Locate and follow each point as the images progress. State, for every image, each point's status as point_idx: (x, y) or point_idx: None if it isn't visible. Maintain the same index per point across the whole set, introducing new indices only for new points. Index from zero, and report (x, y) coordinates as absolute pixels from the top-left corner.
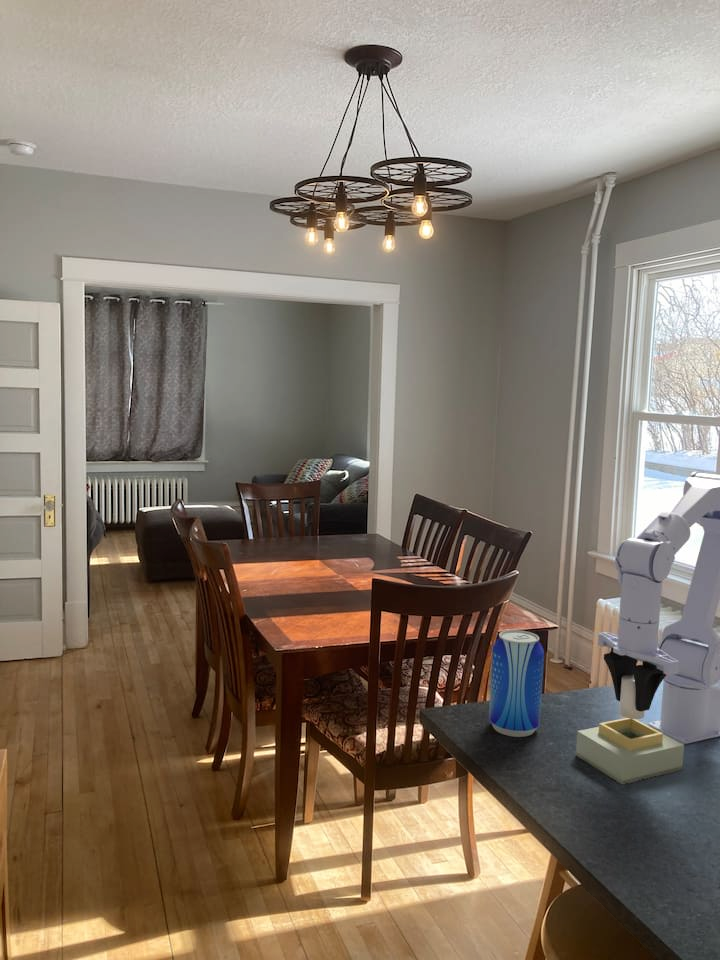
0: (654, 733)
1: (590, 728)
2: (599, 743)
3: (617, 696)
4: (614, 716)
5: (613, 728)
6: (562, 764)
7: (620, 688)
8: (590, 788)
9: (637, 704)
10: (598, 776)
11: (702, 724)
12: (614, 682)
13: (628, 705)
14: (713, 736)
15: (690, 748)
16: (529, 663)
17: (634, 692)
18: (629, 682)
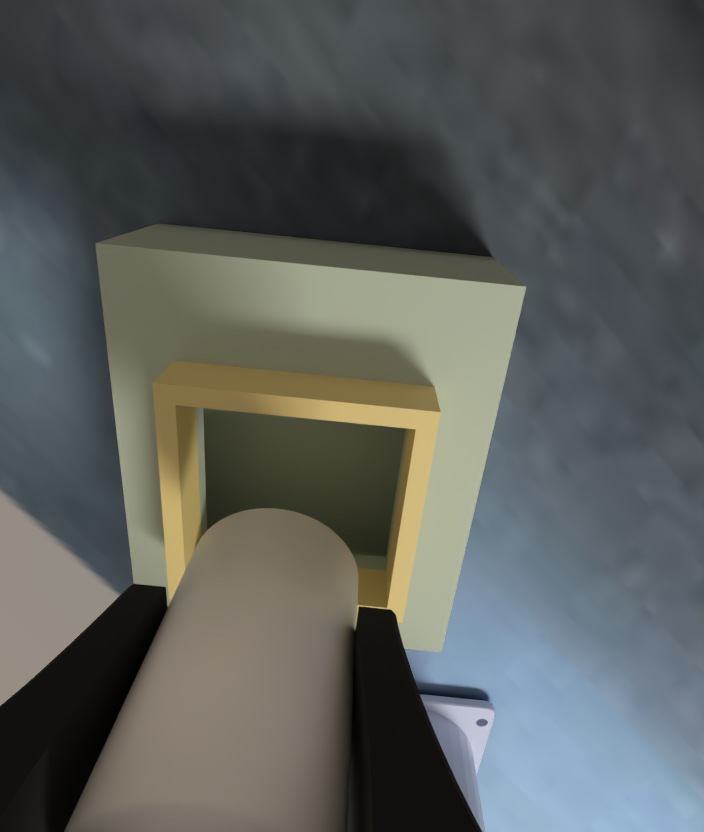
0: None
1: (501, 389)
2: (321, 271)
3: (369, 629)
4: (627, 673)
5: (401, 478)
6: (465, 100)
7: (357, 713)
8: (186, 21)
9: (113, 617)
10: (272, 183)
11: None
12: (410, 742)
13: (211, 581)
14: None
15: None
16: None
17: (125, 714)
18: (135, 809)
